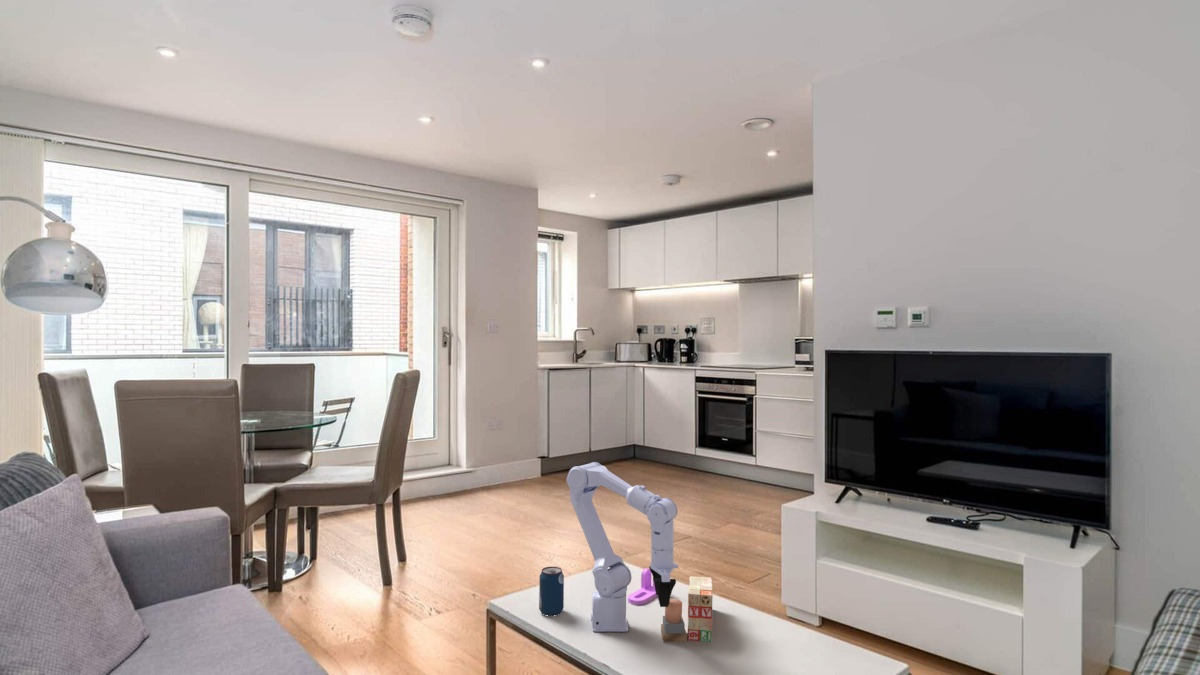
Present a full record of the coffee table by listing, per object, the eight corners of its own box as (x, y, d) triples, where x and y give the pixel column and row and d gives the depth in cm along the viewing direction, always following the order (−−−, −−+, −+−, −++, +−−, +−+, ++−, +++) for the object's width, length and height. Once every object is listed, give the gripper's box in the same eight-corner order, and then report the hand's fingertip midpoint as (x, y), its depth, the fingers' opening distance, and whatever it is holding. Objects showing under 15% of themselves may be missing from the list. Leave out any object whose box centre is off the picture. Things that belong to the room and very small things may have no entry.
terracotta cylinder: (666, 623, 165) (667, 605, 165) (663, 616, 170) (663, 599, 170) (683, 623, 166) (683, 605, 166) (679, 616, 170) (680, 599, 170)
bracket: (647, 589, 201) (647, 566, 201) (662, 593, 198) (663, 570, 198) (624, 602, 190) (624, 578, 191) (640, 607, 187) (640, 583, 187)
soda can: (568, 611, 183) (569, 569, 183) (551, 619, 177) (551, 576, 178) (551, 605, 187) (551, 564, 187) (533, 612, 182) (534, 570, 182)
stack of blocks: (689, 607, 187) (690, 565, 187) (711, 609, 186) (711, 566, 186) (687, 640, 166) (688, 592, 166) (712, 642, 165) (712, 594, 165)
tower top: (665, 633, 165) (665, 623, 165) (662, 625, 170) (662, 615, 170) (684, 633, 165) (684, 623, 165) (681, 625, 170) (681, 615, 170)
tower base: (663, 644, 165) (663, 634, 165) (660, 633, 171) (661, 624, 171) (686, 644, 165) (686, 634, 165) (683, 633, 171) (683, 624, 171)
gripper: (682, 556, 158) (682, 611, 158) (673, 538, 173) (673, 589, 173) (653, 556, 158) (653, 611, 158) (647, 539, 173) (647, 589, 172)
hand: (662, 600), depth 165 cm, fingers open, 7 cm apart
